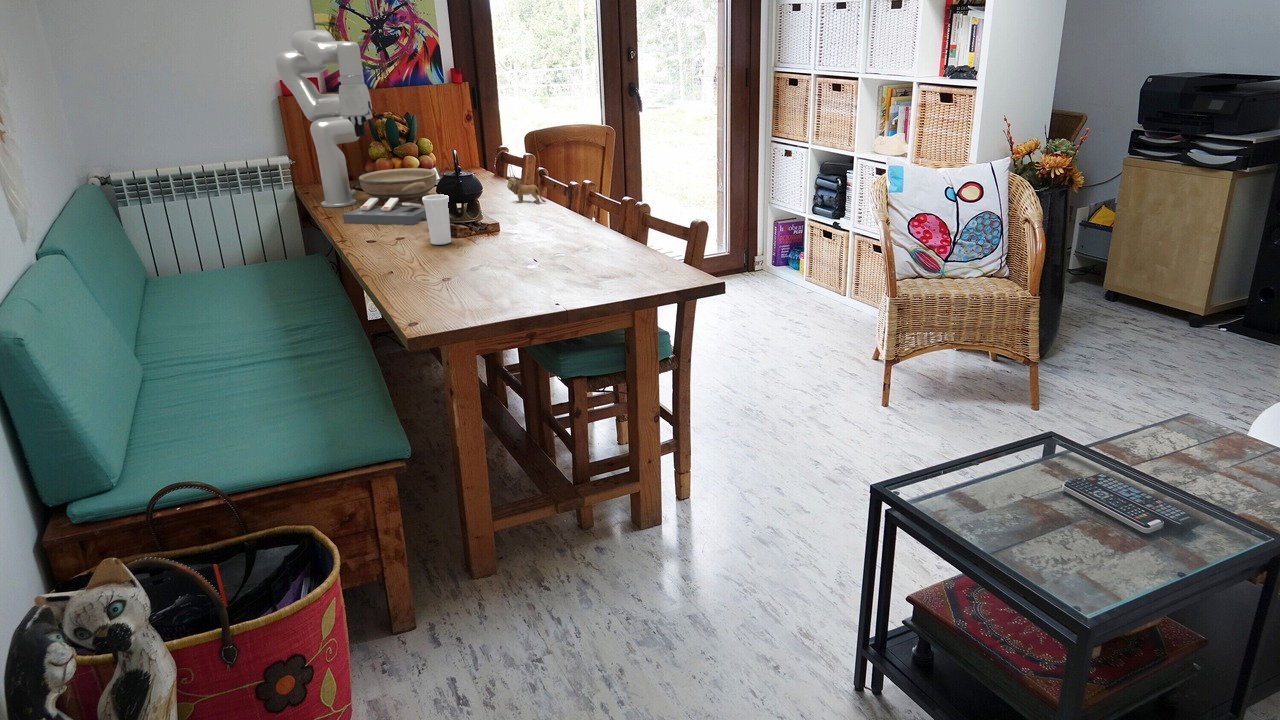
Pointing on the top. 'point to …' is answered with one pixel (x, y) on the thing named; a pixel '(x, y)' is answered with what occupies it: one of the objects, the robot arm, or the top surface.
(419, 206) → the block
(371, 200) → the far-end rocker
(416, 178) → the ceramic bowl
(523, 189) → the lion figurine
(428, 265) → the top surface
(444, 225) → the cup
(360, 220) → the grey switch panel
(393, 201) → the middle rocker
